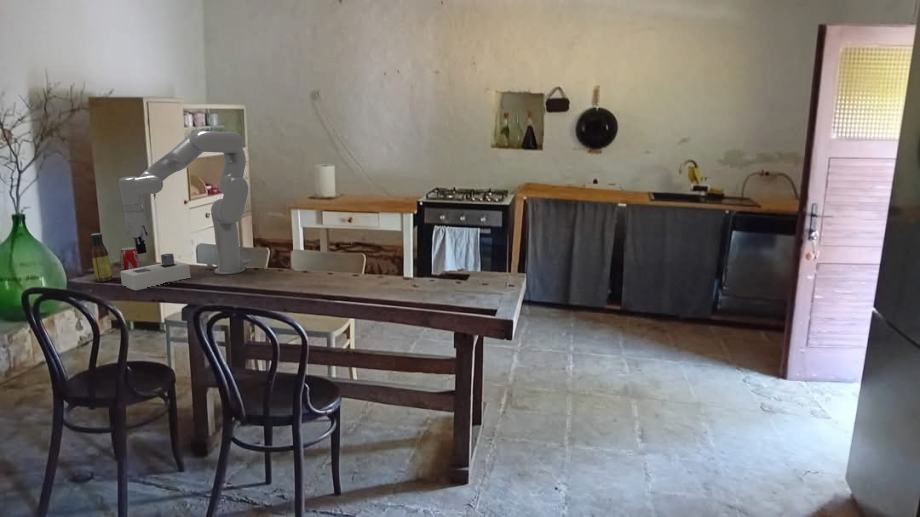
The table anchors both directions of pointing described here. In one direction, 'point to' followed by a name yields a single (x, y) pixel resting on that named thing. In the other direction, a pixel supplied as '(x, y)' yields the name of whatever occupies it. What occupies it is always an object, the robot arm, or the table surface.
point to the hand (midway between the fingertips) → (141, 253)
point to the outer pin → (141, 270)
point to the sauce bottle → (100, 259)
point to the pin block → (154, 275)
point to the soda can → (129, 258)
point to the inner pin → (167, 260)
